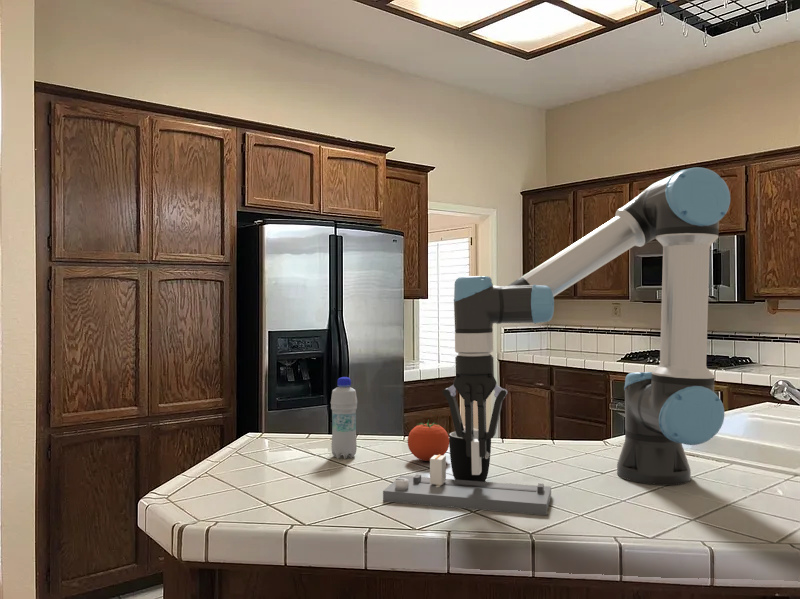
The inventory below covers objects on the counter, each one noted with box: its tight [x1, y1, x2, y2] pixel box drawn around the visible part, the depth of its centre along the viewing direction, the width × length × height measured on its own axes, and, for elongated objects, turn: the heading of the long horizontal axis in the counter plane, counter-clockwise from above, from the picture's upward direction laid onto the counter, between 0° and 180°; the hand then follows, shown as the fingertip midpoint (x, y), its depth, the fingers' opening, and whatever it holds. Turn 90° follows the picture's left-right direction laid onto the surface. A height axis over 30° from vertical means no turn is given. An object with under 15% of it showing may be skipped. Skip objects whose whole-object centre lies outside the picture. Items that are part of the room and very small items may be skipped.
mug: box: [448, 430, 492, 482], centre depth 144 cm, size 12×9×10 cm
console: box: [382, 474, 552, 516], centre depth 130 cm, size 31×12×4 cm, turn 73°
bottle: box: [330, 376, 358, 460], centre depth 166 cm, size 7×7×20 cm
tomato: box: [406, 419, 450, 462], centre depth 162 cm, size 10×10×10 cm
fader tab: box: [429, 454, 447, 485], centre depth 134 cm, size 2×4×5 cm, turn 163°
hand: (476, 473), depth 132 cm, fingers closed
